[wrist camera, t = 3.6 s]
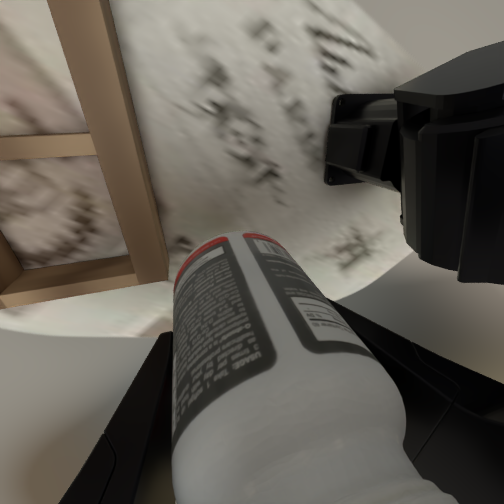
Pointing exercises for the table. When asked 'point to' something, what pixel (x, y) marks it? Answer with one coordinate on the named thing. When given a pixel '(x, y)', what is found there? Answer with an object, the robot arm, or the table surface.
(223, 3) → the table surface
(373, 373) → the pill bottle
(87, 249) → the table surface
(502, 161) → the robot arm
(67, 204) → the table surface
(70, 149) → the wooden divided tray
